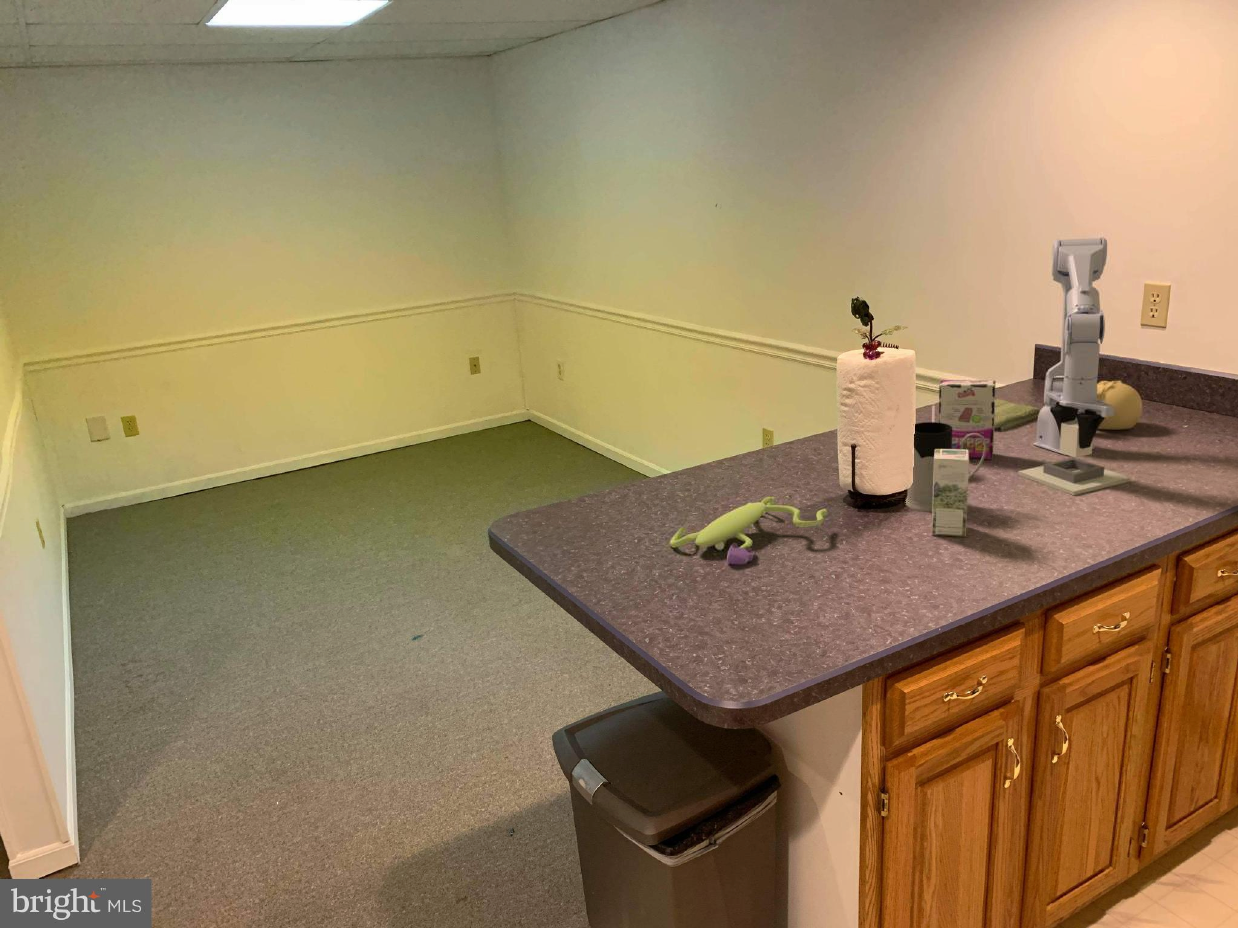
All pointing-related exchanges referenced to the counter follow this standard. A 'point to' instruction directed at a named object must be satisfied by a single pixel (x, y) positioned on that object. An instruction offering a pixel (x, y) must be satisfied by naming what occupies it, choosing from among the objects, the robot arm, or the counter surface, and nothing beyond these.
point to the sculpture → (1120, 404)
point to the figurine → (740, 528)
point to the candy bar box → (969, 414)
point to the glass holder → (930, 461)
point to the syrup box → (950, 492)
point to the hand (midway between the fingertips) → (1075, 444)
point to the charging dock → (1074, 476)
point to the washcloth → (1012, 414)
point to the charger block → (1072, 440)
